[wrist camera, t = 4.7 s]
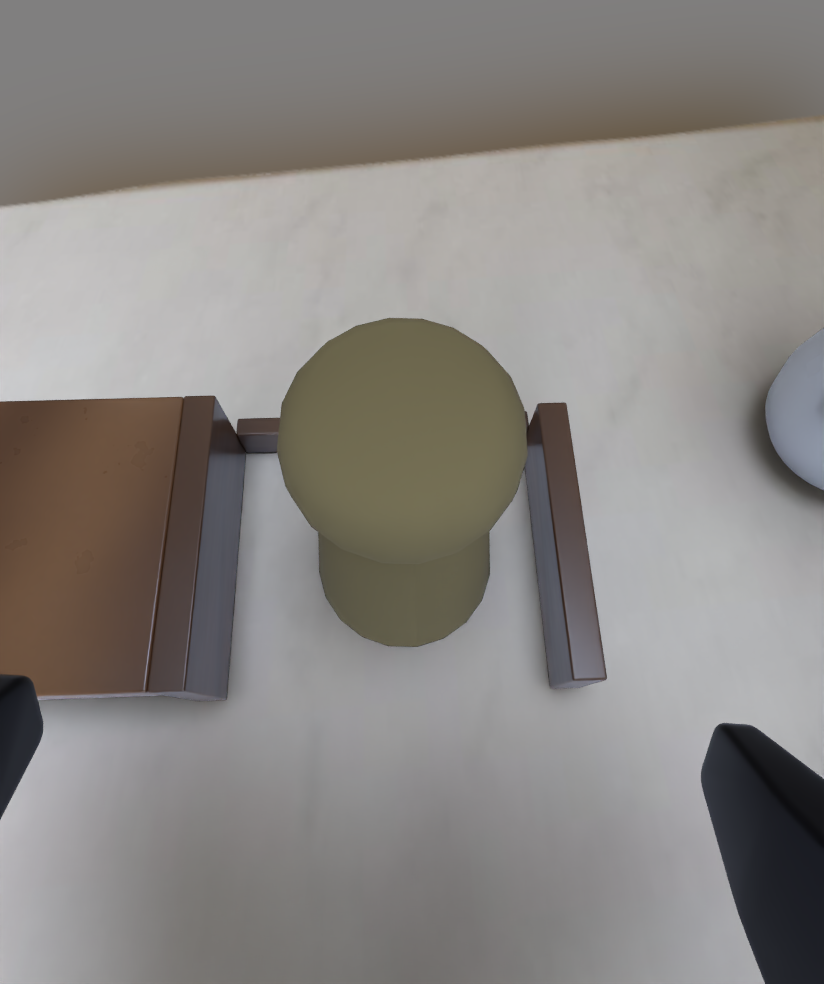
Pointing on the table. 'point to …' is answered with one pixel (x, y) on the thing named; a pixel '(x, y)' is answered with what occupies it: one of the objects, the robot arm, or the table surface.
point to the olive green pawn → (403, 472)
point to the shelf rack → (197, 545)
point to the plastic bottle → (800, 411)
